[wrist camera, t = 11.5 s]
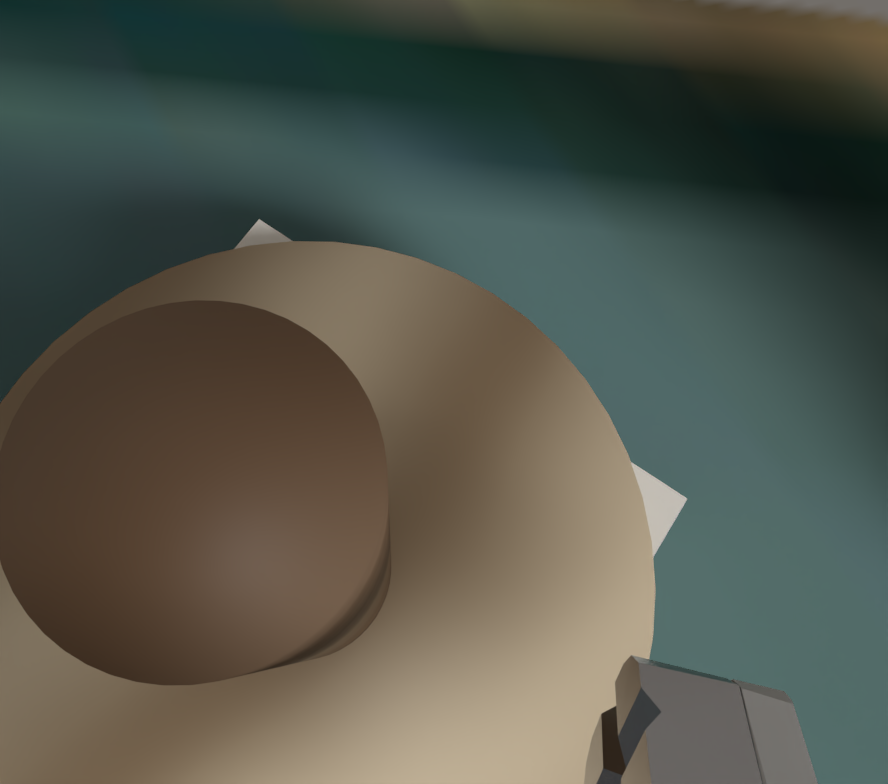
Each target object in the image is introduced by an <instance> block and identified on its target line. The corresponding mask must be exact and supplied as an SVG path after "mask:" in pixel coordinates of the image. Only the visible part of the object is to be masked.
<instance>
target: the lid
mask: <svg viewBox="0 0 888 784" xmlns="http://www.w3.org/2000/svg"><path fill="white" fill-rule="evenodd" d="M654 607H655V577H654V564H653V551H652V540H651V536H650V531H649V526H648V521H647V516H646V511H645V506H644V501H643V497H642V494H641V491H640V488H639V485H638V482H637V479H636V476H635V473H634V470H633V467H632V465H631V462H630V459H629V456H628V453H627V451H626V449H625V447H624V445H623V443H622V441H621V439H620V437H619V435H618V433H617V431H616V429H615V427H614V425H613V423H612V421H611V419H610V416H609V415H608V413H607V412H606V410H605V408H604V407H603V405H602V404H601V402H600V401H599V399H598V398H597V396H596V395H595V393H594V392H593V390H592V389H591V387H590V386H589V384H588V382H587V381H586V379H585V378H584V377H583V376H582V375H581V373H580V372H579V371H578V370H577V369H576V367H575V366H574V365H573V364H572V363H571V362H570V360H569V359H568V358H567V357H566V356H565V354H564V353H563V352H562V351H561V350H560V349H559V347H558V346H557V345H556V344H555V343H553V342H552V341H551V340H550V339H549V338H548V337H547V336H546V335H545V334H544V333H543V332H541V331H540V330H539V329H538V328H537V327H536V326H535V325H534V324H533V323H532V322H531V321H530V320H528V319H527V318H526V317H525V316H523V315H522V314H521V313H519V312H518V311H516V310H515V309H514V308H512V307H511V306H509V305H508V304H507V303H505V302H504V301H502V300H501V299H500V298H498V297H497V296H495V295H494V294H493V293H491V292H489V291H487V290H485V289H484V288H482V287H480V286H478V285H476V284H474V283H472V282H471V281H469V280H467V279H465V278H463V277H461V276H460V275H458V274H456V273H453V272H451V271H448V270H446V269H443V268H441V267H438V266H436V265H433V264H431V263H428V262H426V261H423V260H421V259H418V258H415V257H411V256H407V255H403V254H399V253H396V252H392V251H388V250H384V249H380V248H376V247H369V246H362V245H354V244H347V243H340V242H315V241H289V242H279V243H269V244H260V245H250V246H246V247H241V248H237V249H232V250H228V251H223V252H219V253H214V254H210V255H206V256H203V257H201V258H198V259H195V260H192V261H189V262H186V263H183V264H180V265H178V266H175V267H172V268H169V269H166V270H164V271H162V272H160V273H158V274H156V275H154V276H152V277H150V278H148V279H146V280H144V281H142V282H140V283H137V284H135V285H133V286H131V287H129V288H127V289H126V290H124V291H123V292H121V293H119V294H118V295H116V296H115V297H113V298H112V299H110V300H108V301H107V302H105V303H104V304H102V305H101V306H99V307H97V308H96V309H94V310H93V311H91V312H90V313H88V314H87V315H86V316H85V317H83V318H82V319H81V320H80V321H79V322H77V323H76V324H75V325H74V326H72V327H71V328H70V329H69V330H68V331H66V332H65V333H64V334H63V335H61V336H60V337H59V338H58V339H56V340H55V341H54V342H53V343H52V344H51V345H50V346H49V347H48V348H47V349H46V350H45V351H44V352H43V353H42V354H41V356H40V357H39V358H38V359H37V360H36V361H35V362H34V363H33V364H32V365H31V366H30V367H29V368H28V369H27V370H26V371H25V372H24V373H23V374H22V375H21V377H20V378H19V379H18V381H17V382H16V383H15V385H14V386H13V387H12V388H11V390H10V391H9V392H8V394H7V395H6V396H5V398H4V399H3V400H2V402H1V403H0V784H584V780H585V768H586V761H587V757H588V752H589V748H590V743H591V739H592V736H593V733H594V731H595V728H596V726H597V723H598V721H599V718H600V715H601V713H603V712H605V711H607V710H609V709H611V708H613V707H615V706H616V693H615V681H616V679H617V677H618V675H619V672H620V670H621V668H622V666H623V664H624V663H625V662H626V660H627V659H628V658H629V657H630V656H631V655H633V656H637V657H641V658H645V659H649V656H650V651H651V645H652V639H653V627H654Z"/></svg>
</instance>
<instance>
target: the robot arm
mask: <svg viewBox="0 0 888 784" xmlns="http://www.w3.org/2000/svg"><path fill="white" fill-rule="evenodd" d="M615 693H616V706H615V707H613V708H611V709H609V710H607V711H605V712H603V713H601V715H600V718H599V721H598V723H597V726H596V728H595V731H594V733H593V736H592V739H591V743H590V748H589V752H588V757H587V761H586V768H585V780H584V784H818V782H817V779H816V776H815V773H814V769H813V766H812V763H811V760H810V756H809V753H808V750H807V747H806V744H805V740H804V737H803V734H802V731H801V728H800V724H799V721H798V718H797V715H796V711H795V708H794V705H793V702H792V700H791V699H790V698H789V696H788V695H787V694H786V693H785V692H784V691H780V690H776V689H772V688H768V687H763V686H759V685H755V684H751V683H747V682H742V681H738V680H734V679H733V680H731V681H730V680H729V679H727V678H723V677H719V676H715V675H710V674H706V673H702V672H698V671H694V670H690V669H686V668H682V667H678V666H674V665H670V664H665V663H661V662H657V661H653V660H649V659H645V658H641V657H637V656H633V655H631V656H630V657H629V658H628V659H627V660H626V662H625V663H624V664H623V666H622V668H621V670H620V672H619V675H618V677H617V679H616V681H615Z"/></svg>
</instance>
